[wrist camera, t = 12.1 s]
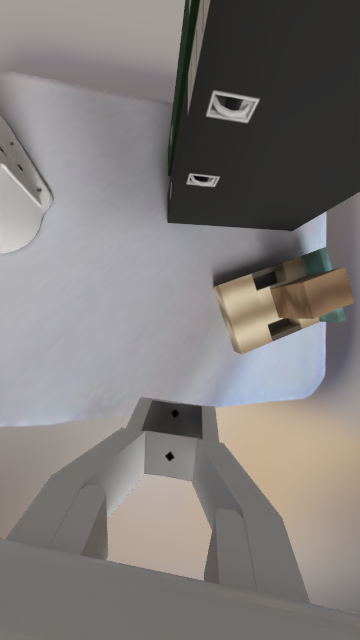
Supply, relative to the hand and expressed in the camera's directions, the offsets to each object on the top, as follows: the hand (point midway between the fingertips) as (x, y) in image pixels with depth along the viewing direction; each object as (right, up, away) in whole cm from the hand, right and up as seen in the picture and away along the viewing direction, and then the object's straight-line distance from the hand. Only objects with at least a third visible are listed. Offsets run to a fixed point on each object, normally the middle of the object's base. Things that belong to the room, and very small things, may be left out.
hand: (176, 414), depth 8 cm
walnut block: (+23, +8, +30) cm, 38 cm away
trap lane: (+19, +7, +32) cm, 38 cm away
